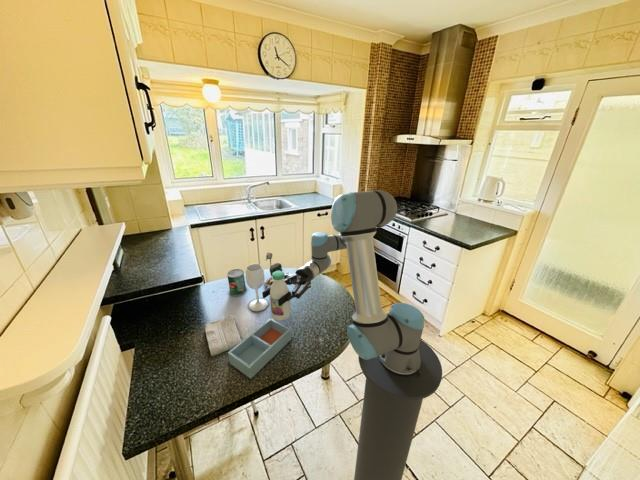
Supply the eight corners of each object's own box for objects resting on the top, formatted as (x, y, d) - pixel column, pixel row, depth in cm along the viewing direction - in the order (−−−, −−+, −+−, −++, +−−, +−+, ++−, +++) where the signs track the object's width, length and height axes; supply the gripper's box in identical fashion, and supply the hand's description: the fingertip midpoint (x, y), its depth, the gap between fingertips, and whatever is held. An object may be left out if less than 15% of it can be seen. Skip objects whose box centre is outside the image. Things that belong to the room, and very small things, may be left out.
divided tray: (291, 339, 103) (290, 329, 101) (250, 379, 87) (249, 368, 84) (271, 327, 108) (270, 318, 106) (229, 363, 92) (227, 352, 90)
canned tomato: (248, 287, 135) (246, 269, 130) (241, 296, 128) (238, 278, 123) (235, 285, 136) (232, 268, 132) (227, 294, 129) (223, 276, 125)
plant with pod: (286, 284, 138) (284, 251, 129) (265, 289, 134) (261, 255, 125) (282, 277, 144) (280, 245, 136) (262, 281, 140) (258, 248, 132)
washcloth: (233, 318, 113) (232, 312, 112) (243, 346, 99) (243, 340, 98) (204, 328, 108) (203, 322, 107) (211, 359, 94) (210, 352, 93)
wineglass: (256, 314, 116) (251, 274, 108) (245, 305, 122) (240, 267, 113) (271, 305, 122) (268, 267, 113) (260, 297, 127) (256, 260, 119)
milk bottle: (283, 306, 111) (280, 266, 102) (294, 315, 106) (292, 273, 97) (268, 314, 106) (264, 273, 98) (278, 324, 101) (275, 281, 93)
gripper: (289, 259, 118) (251, 282, 101) (326, 273, 108) (291, 300, 91) (289, 273, 122) (253, 297, 104) (326, 287, 111) (291, 317, 94)
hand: (271, 299), depth 98 cm, fingers closed on milk bottle, 8 cm apart
